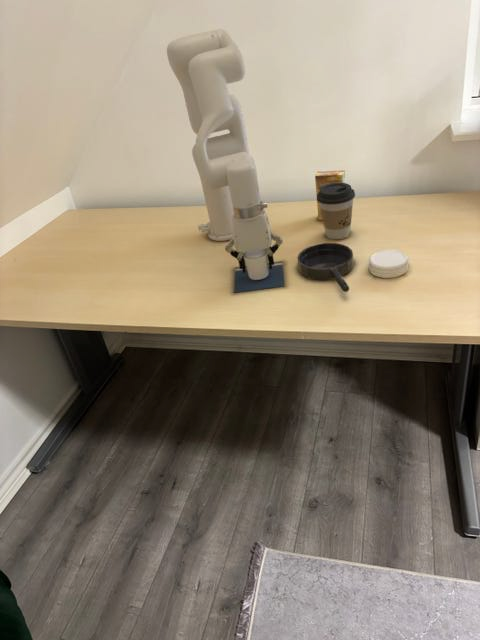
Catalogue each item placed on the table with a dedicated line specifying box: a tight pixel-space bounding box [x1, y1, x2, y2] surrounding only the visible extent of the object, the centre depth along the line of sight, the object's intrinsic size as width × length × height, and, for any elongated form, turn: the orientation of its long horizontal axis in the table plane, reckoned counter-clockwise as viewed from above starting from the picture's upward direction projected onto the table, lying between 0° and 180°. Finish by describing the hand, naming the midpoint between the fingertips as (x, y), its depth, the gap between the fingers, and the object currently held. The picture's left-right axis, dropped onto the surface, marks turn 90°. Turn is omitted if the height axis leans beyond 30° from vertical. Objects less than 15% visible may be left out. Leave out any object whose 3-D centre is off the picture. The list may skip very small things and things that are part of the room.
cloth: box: [233, 260, 286, 294], centre depth 142 cm, size 14×14×1 cm
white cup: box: [243, 249, 269, 280], centre depth 140 cm, size 7×7×7 cm
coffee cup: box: [316, 182, 356, 241], centre depth 151 cm, size 11×11×15 cm
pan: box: [297, 242, 355, 281], centre depth 140 cm, size 15×15×4 cm
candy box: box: [314, 170, 346, 221], centre depth 162 cm, size 9×4×15 cm, turn 70°
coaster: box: [368, 249, 409, 279], centre depth 133 cm, size 10×10×4 cm
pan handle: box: [330, 267, 350, 293], centre depth 128 cm, size 12×2×2 cm, turn 8°
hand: (257, 268), depth 140 cm, fingers closed on white cup, 6 cm apart
